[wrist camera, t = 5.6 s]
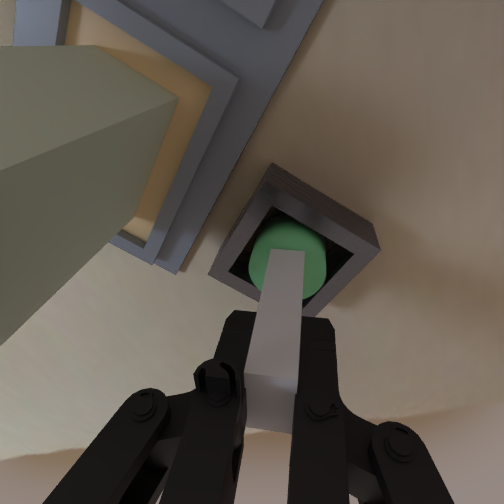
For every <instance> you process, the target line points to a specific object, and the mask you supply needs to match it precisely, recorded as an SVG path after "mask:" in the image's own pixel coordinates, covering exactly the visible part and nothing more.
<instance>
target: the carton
mask: <svg viewBox="0 0 504 504" xmlns="http://www.w3.org/2000/svg"><path fill="white" fill-rule="evenodd" d="M179 98H180V97H178V96H177V95H175V94H174V93H172V92H170V91H169V90H167V89H165V88H164V87H162V86H161V85H159V84H157V83H156V82H154V81H152V80H151V79H149V78H148V77H146V76H144V75H143V74H141V73H139V72H138V71H136V70H135V69H133V68H131V67H130V66H128V65H126V64H125V63H123V62H122V61H120V60H118V59H117V58H115V57H114V56H112V55H110V54H109V53H107V52H105V51H104V50H102V49H101V48H99V47H97V46H96V45H71V46H6V47H0V346H1V345H2V344H3V343H4V342H5V341H6V340H7V339H8V338H9V337H10V336H11V335H12V334H14V333H15V332H16V331H17V330H18V329H19V328H20V327H21V326H22V325H23V324H24V323H25V322H26V321H27V320H28V319H29V318H30V317H31V316H32V315H33V314H34V313H35V312H36V311H37V310H38V309H39V308H40V307H42V306H43V305H44V304H45V303H46V302H47V301H48V300H49V299H50V298H51V297H52V296H53V295H54V294H55V293H56V292H57V291H58V290H59V289H60V288H61V287H62V286H63V285H64V284H65V283H66V282H67V281H68V280H69V279H71V278H72V277H73V276H74V275H75V274H76V273H77V272H78V271H79V270H80V269H81V268H82V267H83V266H84V265H85V264H86V263H87V262H88V261H89V260H90V259H91V258H92V257H93V256H94V255H95V254H96V253H97V252H99V251H100V250H101V249H102V248H103V247H104V246H105V245H106V244H107V243H108V242H109V241H110V240H111V239H112V238H113V237H114V236H115V235H116V234H117V233H118V232H119V231H120V230H121V229H122V228H123V227H124V226H125V225H127V224H128V223H129V222H130V221H131V220H132V219H133V218H134V217H135V214H136V212H137V209H138V206H139V204H140V201H141V198H142V196H143V193H144V190H145V188H146V185H147V183H148V180H149V177H150V175H151V172H152V169H153V167H154V164H155V161H156V159H157V156H158V153H159V151H160V148H161V145H162V143H163V140H164V137H165V135H166V132H167V130H168V127H169V124H170V122H171V119H172V116H173V114H174V111H175V108H176V106H177V103H178V100H179Z"/></svg>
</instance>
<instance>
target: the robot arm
mask: <svg viewBox="0 0 504 504" xmlns="http://www.w3.org/2000/svg"><path fill="white" fill-rule="evenodd" d="M304 258H305V251H297V250H283V249H271V251H270V255H269V260H268V264H267V269H266V273H265V278H264V283H263V287H262V292H261V296H260V301H259V305H258V310H257V312H249V311H239V310H234V311H233V312H232V313H231V314H230V315H229V316H228V318H227V319H226V321H225V324H224V327H223V331H222V333H221V336H220V341H219V342H218V346H217V349H216V352H215V355H214V358H213V359H210V360H207V361H205V362H203V363H202V364H201V365H200V366H198V367H197V369H196V371H195V372H194V374H193V375H194V381H195V386H196V389H194V390H192V391H190V392H187V393H183V394H178V395H172V396H165V394H164V393H163V392H161V391H160V390H158V389H153V388H147V389H142V390H140V391H138V392H136V393H134V394H132V395H131V396H130V397H129V398H128V399H127V400H126V401H125V402H124V403H123V404H122V406H121V407H120V408H119V409H118V411H117V412H116V413H115V414H114V416H113V417H112V418H111V419H110V420H109V422H108V423H107V424H106V425H105V427H104V428H103V429H102V430H101V432H100V433H99V434H98V435H97V437H96V438H95V439H94V440H93V442H92V443H91V444H90V445H89V446H88V448H87V449H86V450H85V451H84V453H83V454H82V455H81V457H80V458H79V459H78V460H77V462H76V463H75V464H74V465H73V466H72V468H71V469H70V470H69V471H68V472H67V474H66V475H65V476H64V477H63V479H62V480H61V481H60V482H59V484H58V485H57V486H56V487H55V489H54V490H53V491H52V492H51V494H50V495H49V496H48V497H47V499H46V500H45V501H44V502H43V504H155V503H156V502H157V500H158V498H159V496H160V494H161V493H162V491H163V493H162V496H161V499H160V502H159V504H234V499H235V493H236V488H237V482H238V476H239V470H240V465H241V459H242V453H243V448H244V431H245V425H246V427H250V428H257V429H263V430H270V431H276V432H283V433H289V434H292V442H291V454H290V465H289V466H290V468H289V484H288V500H287V504H350V503H349V494H351V495H353V496H354V497H356V498H358V502H359V504H454V502H453V500H452V498H451V496H450V494H449V492H448V490H447V488H446V486H445V484H444V482H443V480H442V478H441V476H440V474H439V472H438V470H437V468H436V466H435V464H434V462H433V460H432V458H431V456H430V454H429V452H428V450H427V448H426V446H425V444H424V443H423V441H422V440H421V439H420V437H419V436H418V434H416V433H415V432H414V431H413V430H412V429H410V428H409V427H407V426H405V425H403V424H401V423H398V422H390V421H387V422H384V423H381V424H379V425H378V426H377V425H375V424H372V423H370V422H368V421H366V420H364V419H362V418H360V417H358V416H356V415H355V414H353V413H352V412H351V411H350V410H349V409H348V408H347V407H346V406H345V405H344V403H343V402H342V400H341V398H340V395H339V389H338V374H337V358H336V344H335V329H334V328H333V326H332V324H331V323H330V321H329V319H326V318H317V317H307V316H301V314H302V295H303V277H304ZM163 489H164V490H163Z"/></svg>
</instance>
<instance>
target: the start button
mask: <svg viewBox="0 0 504 504" xmlns="http://www.w3.org/2000/svg"><path fill="white" fill-rule="evenodd" d="M271 249H283V250H297V251H305V258H304V277H303V295H302V299H305V298H308V297H310V296H311V295H313V294H314V293H316V292H317V291H318V290H319V289H320V288H321V286H322V285H323V283H324V281H325V278H326V253H325V239H324V236H323V235H322V234H320V233H318V232H316V231H315V230H313V229H311V228H310V227H308V226H306V225H305V224H303V223H301V222H300V221H298V220H296V219H294V218H293V217H291V216H289V215H288V214H283V215H278V216H276V217H273V218H271V219H270V220H268V221H267V222H266V223H265V224H263V226H262V227H261V228H260V230H259V232H258V235H257V238H256V241H255V244H254V248H253V251H252V254H251V258H250V261H249V274H250V277H251V280H252V282H253V283H254V285H255V286H256V287H257V288H258V289H259V290H260V291H261V292H262V287H263V283H264V278H265V273H266V269H267V264H268V260H269V255H270V251H271Z"/></svg>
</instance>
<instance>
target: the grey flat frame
mask: <svg viewBox="0 0 504 504" xmlns="http://www.w3.org/2000/svg"><path fill="white" fill-rule="evenodd" d="M323 1H324V0H17V2H16V14H15V27H14V39H13V46H71V45H96V46H97V47H99V48H101V49H102V50H104V51H105V52H107V53H109V54H110V55H112V56H114V57H115V58H117V59H118V60H120V61H122V62H123V63H125V64H126V65H128V66H130V67H131V68H133V69H135V70H136V71H138V72H139V73H141V74H143V75H144V76H146V77H148V78H149V79H151V80H152V81H154V82H156V83H157V84H159V85H161V86H162V87H164V88H165V89H167V90H169V91H170V92H172V93H174V94H175V95H177V96H178V97H180V98H179V100H178V103H177V106H176V108H175V111H174V114H173V116H172V119H171V122H170V124H169V127H168V130H167V132H166V135H165V137H164V140H163V143H162V145H161V148H160V151H159V153H158V156H157V159H156V161H155V164H154V167H153V169H152V172H151V175H150V177H149V180H148V183H147V185H146V188H145V190H144V193H143V196H142V198H141V201H140V204H139V206H138V209H137V212H136V214H135V217H134V218H133V219H132V220H131V221H130V222H129V223H128V224H127V225H125V226H124V227H123V228H122V229H121V230H120V231H119V232H118V233H117V234H116V235H115V236H114V237H113V238H112V239H111V240H110V241H109V243H111V244H113V245H115V246H117V247H119V248H120V249H122V250H124V251H126V252H128V253H130V254H132V255H134V256H136V257H138V258H139V259H141V260H143V261H145V262H147V263H149V264H151V265H153V263H154V264H156V265H158V266H160V267H162V268H164V269H166V270H168V271H170V272H171V273H173V274H175V275H176V274H177V272H178V270H179V269H180V267H181V265H182V263H183V261H184V259H185V257H186V256H187V254H188V252H189V250H190V248H191V246H192V244H193V242H194V241H195V239H196V237H197V235H198V233H199V231H200V229H201V228H202V226H203V224H204V222H205V220H206V218H207V216H208V215H209V213H210V211H211V209H212V207H213V205H214V203H215V202H216V200H217V198H218V196H219V194H220V192H221V190H222V189H223V187H224V185H225V183H226V181H227V179H228V177H229V176H230V174H231V172H232V170H233V168H234V166H235V164H236V162H237V161H238V159H239V157H240V155H241V153H242V151H243V149H244V148H245V146H246V144H247V142H248V140H249V138H250V136H251V135H252V133H253V131H254V129H255V127H256V125H257V123H258V122H259V120H260V118H261V116H262V114H263V112H264V110H265V109H266V107H267V105H268V103H269V101H270V99H271V97H272V96H273V94H274V92H275V90H276V88H277V86H278V84H279V82H280V81H281V79H282V77H283V75H284V73H285V71H286V69H287V68H288V66H289V64H290V62H291V60H292V58H293V56H294V55H295V53H296V51H297V49H298V47H299V45H300V43H301V42H302V40H303V38H304V36H305V34H306V32H307V30H308V29H309V27H310V25H311V23H312V21H313V19H314V17H315V16H316V14H317V12H318V10H319V8H320V6H321V4H322V2H323Z"/></svg>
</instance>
